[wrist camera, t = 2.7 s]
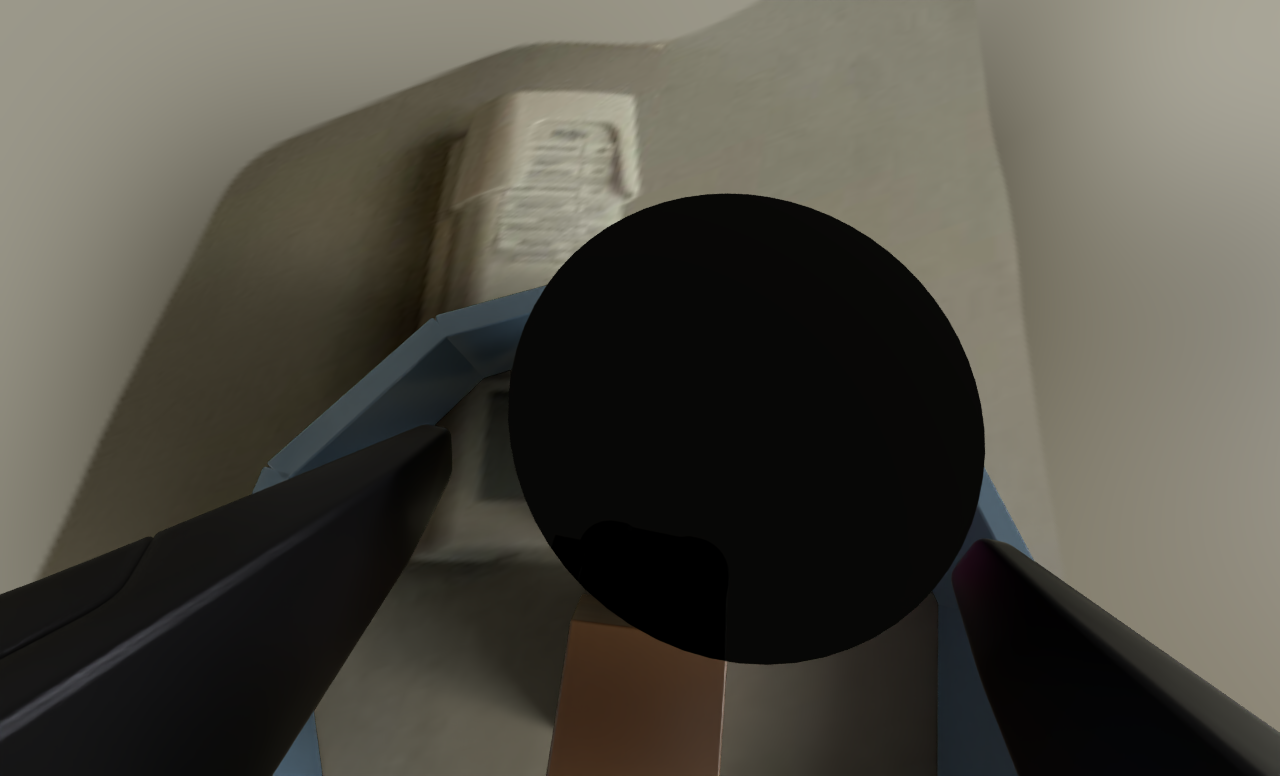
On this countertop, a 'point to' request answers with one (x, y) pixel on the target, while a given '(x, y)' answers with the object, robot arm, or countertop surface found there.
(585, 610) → the walnut block
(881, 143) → the countertop surface
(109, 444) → the countertop surface
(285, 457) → the blue polygonal ring
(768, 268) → the supplement container
